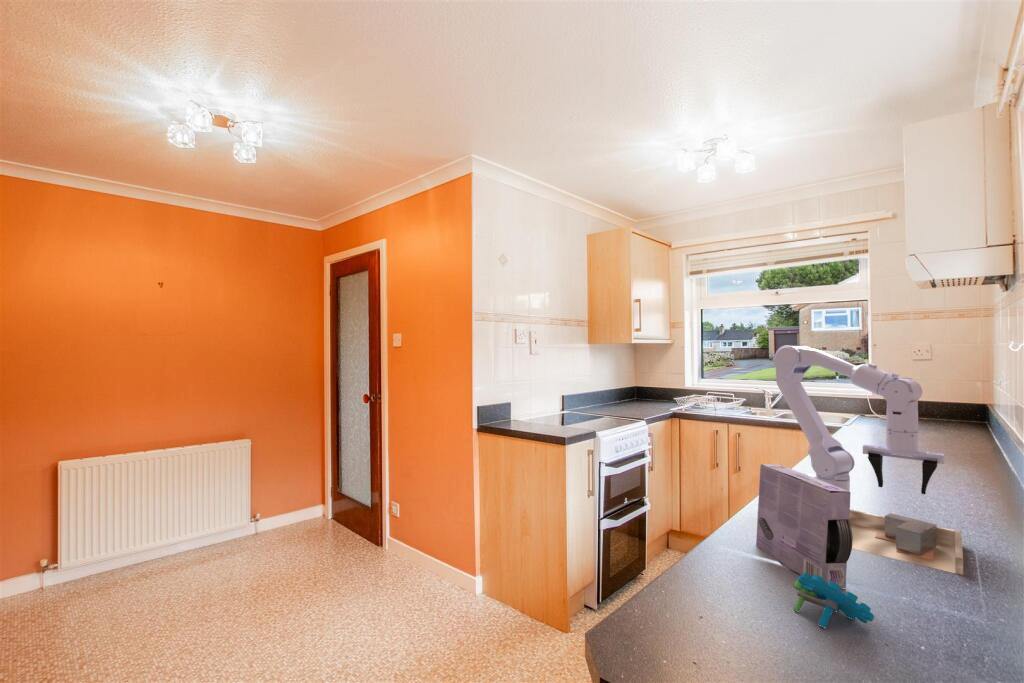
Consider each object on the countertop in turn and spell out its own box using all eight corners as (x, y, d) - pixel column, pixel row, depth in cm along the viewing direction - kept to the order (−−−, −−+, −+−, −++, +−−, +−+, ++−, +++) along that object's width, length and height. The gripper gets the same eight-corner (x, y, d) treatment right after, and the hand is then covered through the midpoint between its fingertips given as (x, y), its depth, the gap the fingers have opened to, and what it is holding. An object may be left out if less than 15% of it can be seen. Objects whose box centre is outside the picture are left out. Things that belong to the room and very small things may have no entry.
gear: (890, 624, 70) (851, 581, 69) (875, 662, 68) (834, 618, 67) (818, 598, 81) (782, 560, 79) (803, 630, 78) (766, 591, 77)
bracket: (920, 556, 96) (920, 533, 96) (873, 542, 102) (873, 520, 102) (936, 546, 101) (936, 524, 101) (890, 533, 107) (890, 513, 107)
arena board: (816, 542, 104) (816, 526, 104) (831, 520, 117) (831, 505, 117) (963, 578, 88) (963, 558, 88) (960, 548, 102) (961, 531, 102)
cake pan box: (854, 592, 83) (855, 489, 83) (829, 595, 82) (829, 490, 82) (776, 546, 102) (776, 462, 102) (754, 547, 101) (755, 463, 101)
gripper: (944, 432, 110) (943, 492, 109) (865, 424, 119) (865, 479, 119) (943, 436, 104) (943, 499, 104) (861, 428, 114) (861, 485, 114)
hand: (901, 489), depth 111 cm, fingers open, 7 cm apart
